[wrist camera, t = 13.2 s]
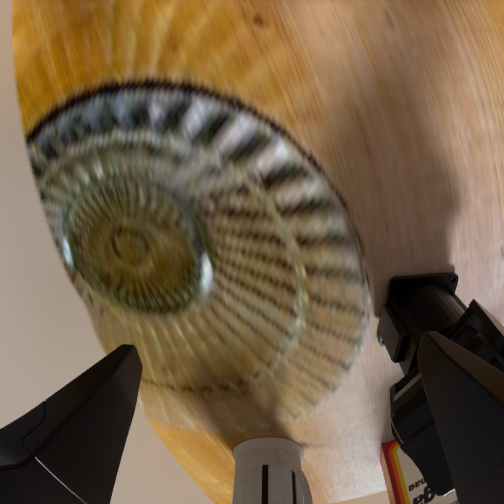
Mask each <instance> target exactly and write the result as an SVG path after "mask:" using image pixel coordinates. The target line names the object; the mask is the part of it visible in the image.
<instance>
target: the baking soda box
mask: <svg viewBox="0 0 504 504" xmlns="http://www.w3.org/2000/svg"><path fill="white" fill-rule="evenodd" d="M381 466H382V470H383V474H384V478H385V483H386V487H387V491H388V496H389V500H390V504H458V503H459V502H458V500H457V496H456V492H455V490H453V491H452V492H450V493H449V494H447V495H445V496H440V495H438V494H437V493H435V492H433V491H431V490H430V489H429V487H428V486H427V484H426V482H425V480H424V478H423V476H422V474H421V472H420V471H419V469H418V467H417V466H416V465H415V464H414V462H413V461H412V460H411V458H410V457H409V456H407V455H406V454H405V453H404V452H403V451H402V450H401V448H400V446H399V444H398V443H397V441H396V440H393V441H390V442H387V443H383V444H381Z"/></svg>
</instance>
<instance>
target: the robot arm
mask: <svg viewBox="0 0 504 504" xmlns="http://www.w3.org/2000/svg"><path fill="white" fill-rule="evenodd" d="M452 278H453V280H452ZM396 282H397V284H396V285H394V283H396ZM457 283H458V276H457V275H456V274H455V273H454V272H451V273H439V274H426V275H413V276H400V277H393V278H392V279H391V280H390V281H389V284H388V290H387V296H386V302H385V303H384V304H383V306H382V311H381V317H380V322H379V327H378V331H379V337H378V342H379V344H380V345H381V346H386V349H387V351H388V353H389V355H390V357H391V360H392V361H393V362H394V363H398V362H399V365H400V367H401V369H402V371H403V374H404V377H403V378H402V379H401V380H400V381H399V382H398V383H395V384H394V385H393V386H392V387H391V388H390V403H391V427H392V434H393V436H394V438H395V439H396V441H397V443H398V444H399V446H400V448H401V450H402V451H403V452H404V453H405V454H406V455H407V456H409V457H410V458H411V460H412V461H413V462H414V464H415V465H416V466H417V467H418V469H419V471H420V472H421V474H422V476H423V478H424V480H425V482H426V484H427V486H428V487H429V489H430V490H431V491H433V492H435V493H437V494H438V495H440V496H445V495H447V494H449V493H450V492H452V491H453V490H455V492H456V496H457V500H458V502H459V503H458V504H504V327H503V326H502V325H501V323H500V322H499V321H498V320H496V319H495V318H494V317H493V316H492V315H491V314H490V313H489V312H488V311H487V310H486V309H485V308H483V307H482V306H481V305H480V304H479V303H478V302H477V301H476V300H475V299H473V300H472V301H471V303H470V304H469V307H468V308H467V307H466V306H465V305H464V304H463V302H462V301H461V300H460V299H459V298H458V297H457V296H456V294H455V290H456V287H457ZM141 375H142V363H141V360H140V357H139V355H138V352H137V349H136V347H135V346H134V345H127V344H123V345H121V346H119V347H118V348H117V349H115V350H114V351H112V352H111V353H110V354H108V355H107V356H105V357H104V358H103V359H101V360H100V361H99V362H97V363H96V364H94V365H93V366H92V367H90V368H89V369H87V370H86V371H85V372H83V373H82V374H81V375H79V376H78V377H76V378H75V379H74V380H72V381H71V382H70V383H68V384H67V385H65V386H64V387H63V388H61V389H60V390H59V391H57V392H56V393H54V394H53V395H52V396H50V397H49V398H48V399H46V401H43V402H42V403H40V404H39V405H38V406H36V407H35V408H34V409H32V410H30V411H29V412H28V413H26V414H25V415H23V416H22V417H20V418H18V419H17V420H15V421H13V422H11V423H10V424H8V425H7V426H5V427H3V428H1V429H0V504H110V500H111V496H112V492H113V488H114V484H115V480H116V476H117V472H118V468H119V465H120V461H121V457H122V453H123V450H124V447H125V443H126V439H127V436H128V432H129V429H130V426H131V422H132V419H133V415H134V412H135V407H136V402H137V396H138V391H139V385H140V380H141Z"/></svg>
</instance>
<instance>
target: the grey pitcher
mask: <svg viewBox="0 0 504 504" xmlns="http://www.w3.org/2000/svg"><path fill="white" fill-rule="evenodd" d="M303 454H304V450H303V448H302V446H301V445H300V444H298V443H296V442H294V441H292V440H288V439H284V438H276V437H263V438H255V439H250V440H247V441H244V442H242V443H240V444H238V445H237V446H236V447H235V448H234V449H233V457H234V459H235V463H236V464H235V477H234V490H233V503H232V504H313V503H312V496H311V492H310V488H309V484H308V482H307V479H306V477H305V475H304V473H303V471H302V470H301V459H302V457H303ZM303 498H304V503H303Z"/></svg>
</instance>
